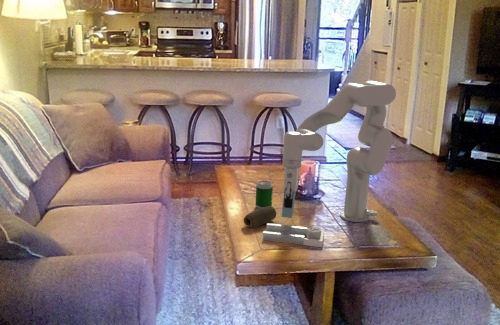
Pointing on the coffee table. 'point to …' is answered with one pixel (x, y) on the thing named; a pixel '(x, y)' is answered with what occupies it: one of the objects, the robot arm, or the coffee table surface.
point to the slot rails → (277, 233)
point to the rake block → (288, 211)
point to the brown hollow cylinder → (260, 216)
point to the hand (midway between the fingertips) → (289, 204)
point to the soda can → (264, 194)
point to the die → (314, 233)
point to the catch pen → (314, 240)
